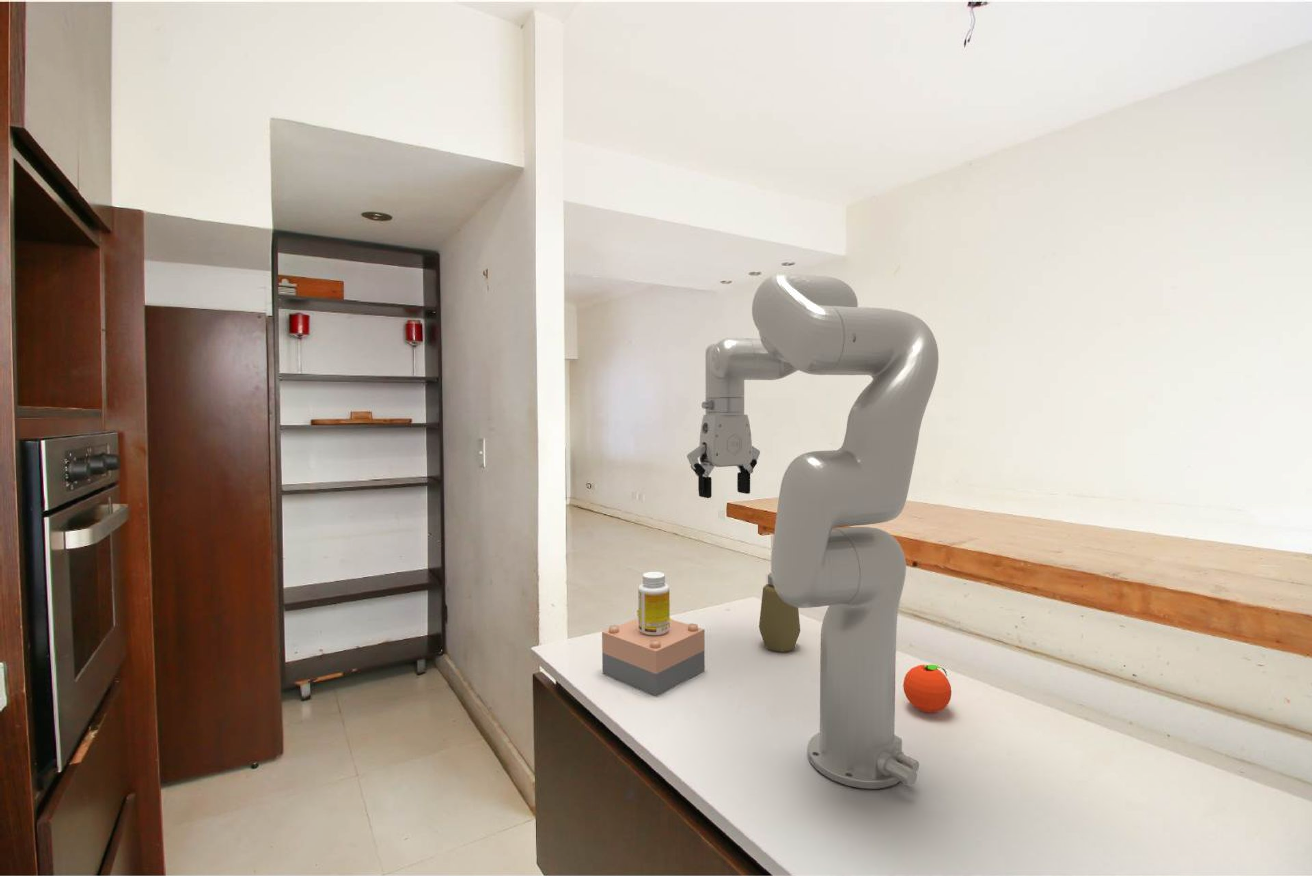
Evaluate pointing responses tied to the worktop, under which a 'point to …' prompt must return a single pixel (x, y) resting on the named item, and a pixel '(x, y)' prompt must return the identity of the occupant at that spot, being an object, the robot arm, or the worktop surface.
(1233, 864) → the worktop surface
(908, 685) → the clementine
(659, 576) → the supplement bottle
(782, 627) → the squeeze bottle
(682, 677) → the pink and grey block
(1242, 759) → the worktop surface
